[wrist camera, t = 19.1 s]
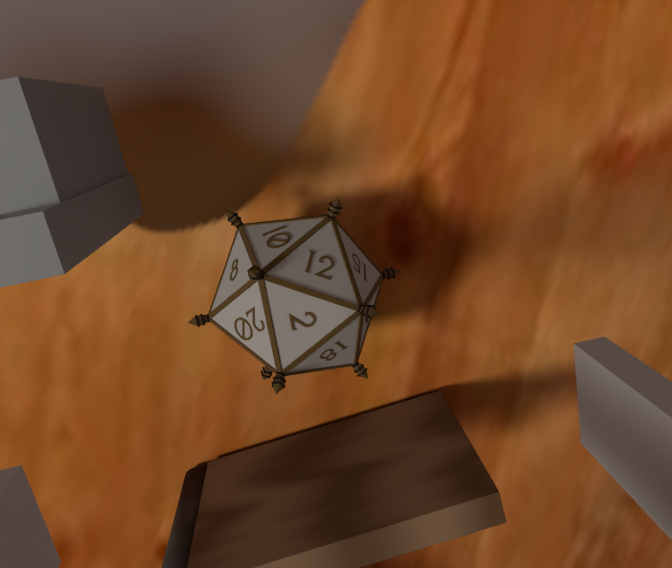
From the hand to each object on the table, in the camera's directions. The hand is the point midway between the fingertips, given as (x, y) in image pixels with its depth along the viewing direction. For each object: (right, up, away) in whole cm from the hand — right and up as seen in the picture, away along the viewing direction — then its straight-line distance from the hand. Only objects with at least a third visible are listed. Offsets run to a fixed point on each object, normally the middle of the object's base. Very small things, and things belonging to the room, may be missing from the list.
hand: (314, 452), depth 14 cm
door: (-1, -6, +19) cm, 20 cm away
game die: (-2, +5, +17) cm, 17 cm away
